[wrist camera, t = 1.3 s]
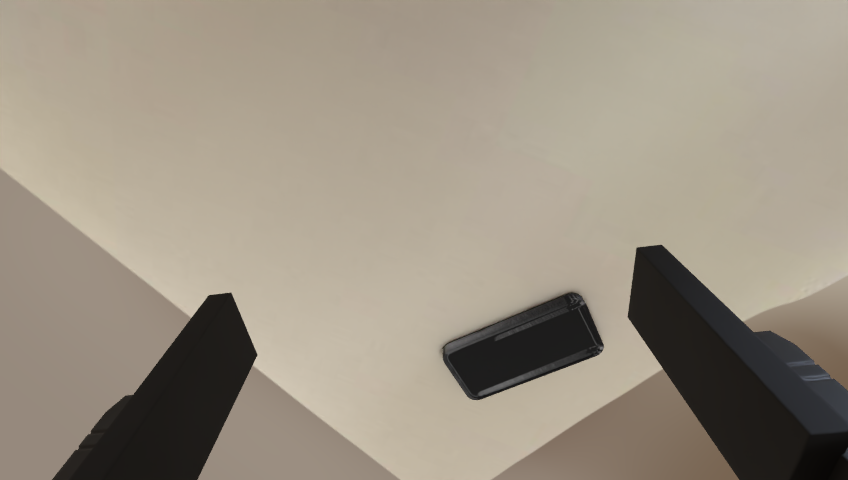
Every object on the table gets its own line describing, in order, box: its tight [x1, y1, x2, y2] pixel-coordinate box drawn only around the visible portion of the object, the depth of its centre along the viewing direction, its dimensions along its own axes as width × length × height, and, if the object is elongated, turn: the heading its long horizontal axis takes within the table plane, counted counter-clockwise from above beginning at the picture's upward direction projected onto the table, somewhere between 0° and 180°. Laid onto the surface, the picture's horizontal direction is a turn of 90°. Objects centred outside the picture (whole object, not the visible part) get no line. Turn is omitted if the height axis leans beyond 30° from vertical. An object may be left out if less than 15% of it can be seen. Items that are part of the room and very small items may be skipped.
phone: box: [443, 293, 604, 400], centre depth 43 cm, size 8×1×15 cm
